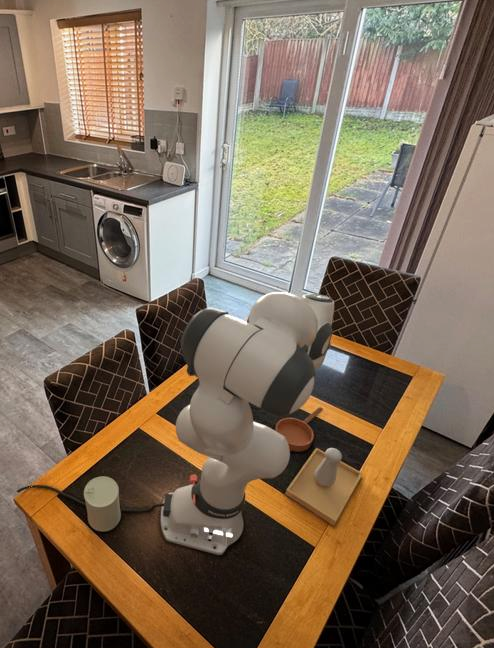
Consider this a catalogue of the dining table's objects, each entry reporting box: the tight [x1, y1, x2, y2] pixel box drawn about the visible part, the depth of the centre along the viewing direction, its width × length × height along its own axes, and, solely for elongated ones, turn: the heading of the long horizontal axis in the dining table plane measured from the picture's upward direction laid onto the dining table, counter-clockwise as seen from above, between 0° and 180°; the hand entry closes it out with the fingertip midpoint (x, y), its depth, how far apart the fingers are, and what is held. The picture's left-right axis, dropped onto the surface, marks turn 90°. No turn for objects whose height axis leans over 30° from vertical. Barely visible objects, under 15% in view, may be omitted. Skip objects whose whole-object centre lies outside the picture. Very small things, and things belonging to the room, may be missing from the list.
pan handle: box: [302, 406, 324, 425], centre depth 138 cm, size 11×1×1 cm, turn 130°
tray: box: [284, 447, 364, 527], centre depth 118 cm, size 20×14×2 cm
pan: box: [274, 417, 315, 453], centre depth 133 cm, size 12×12×3 cm
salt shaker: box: [314, 447, 343, 487], centre depth 115 cm, size 6×6×13 cm
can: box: [83, 475, 122, 532], centre depth 108 cm, size 9×9×12 cm
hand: (296, 390), depth 115 cm, fingers open, 8 cm apart
